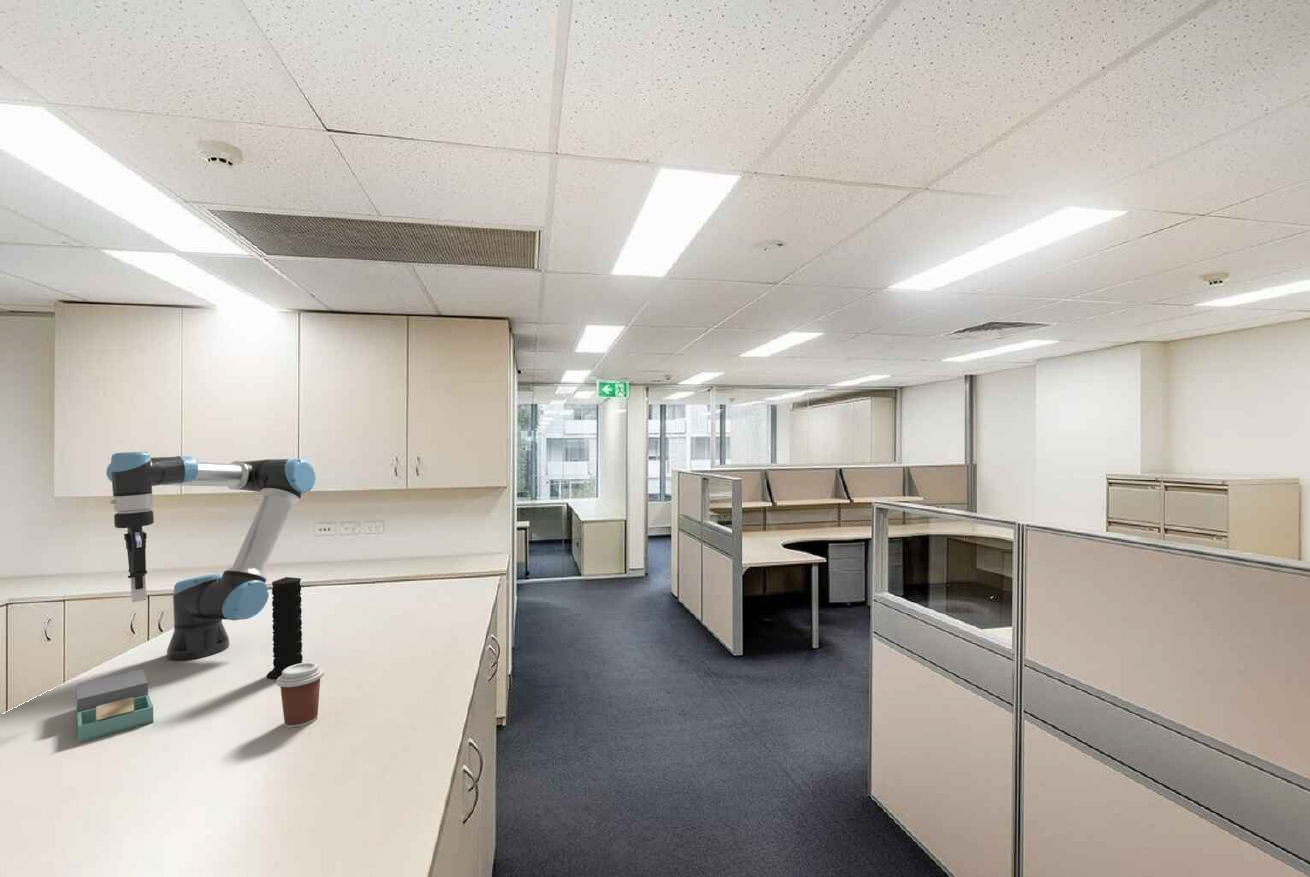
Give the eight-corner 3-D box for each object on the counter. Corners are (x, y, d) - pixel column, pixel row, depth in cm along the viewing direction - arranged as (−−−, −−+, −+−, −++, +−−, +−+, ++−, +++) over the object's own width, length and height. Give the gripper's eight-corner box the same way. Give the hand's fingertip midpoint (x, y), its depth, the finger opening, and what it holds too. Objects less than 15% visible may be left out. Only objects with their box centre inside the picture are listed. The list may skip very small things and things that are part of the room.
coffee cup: (333, 714, 131) (332, 662, 131) (297, 733, 122) (296, 678, 122) (304, 709, 134) (303, 658, 134) (267, 727, 125) (266, 673, 125)
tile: (133, 696, 128) (134, 710, 127) (131, 705, 131) (132, 718, 130) (96, 706, 124) (96, 719, 123) (95, 715, 127) (96, 728, 126)
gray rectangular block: (142, 692, 146) (142, 669, 146) (148, 707, 137) (147, 682, 137) (76, 708, 137) (76, 684, 137) (77, 725, 128) (77, 699, 128)
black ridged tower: (257, 678, 153) (288, 680, 151) (255, 580, 154) (286, 581, 152) (287, 664, 163) (317, 666, 161) (286, 572, 163) (315, 573, 161)
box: (148, 709, 136) (148, 694, 136) (153, 722, 129) (153, 707, 129) (77, 728, 127) (77, 712, 127) (78, 743, 120) (78, 726, 121)
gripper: (110, 511, 148) (116, 599, 149) (117, 515, 140) (122, 609, 140) (148, 507, 154) (154, 592, 154) (157, 510, 145) (162, 601, 146)
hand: (139, 600), depth 147 cm, fingers closed
